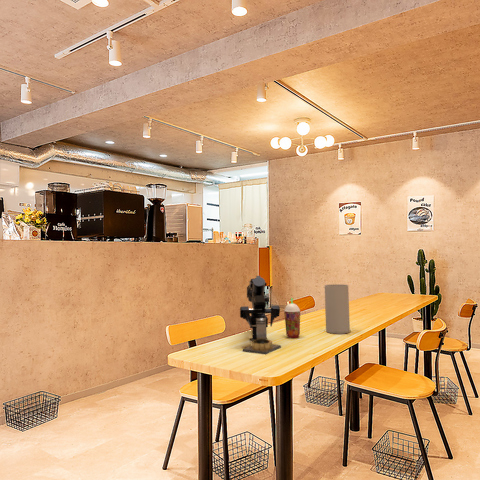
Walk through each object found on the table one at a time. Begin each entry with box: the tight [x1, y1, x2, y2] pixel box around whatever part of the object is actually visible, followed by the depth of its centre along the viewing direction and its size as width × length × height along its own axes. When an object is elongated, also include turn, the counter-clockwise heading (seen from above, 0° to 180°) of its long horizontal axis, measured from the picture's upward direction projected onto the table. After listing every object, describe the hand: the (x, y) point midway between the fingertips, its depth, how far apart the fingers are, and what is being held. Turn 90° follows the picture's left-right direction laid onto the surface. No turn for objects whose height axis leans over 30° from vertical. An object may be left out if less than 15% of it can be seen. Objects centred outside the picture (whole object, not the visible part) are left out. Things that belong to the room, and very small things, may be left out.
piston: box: [256, 318, 268, 343], centre depth 186 cm, size 5×5×13 cm
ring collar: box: [242, 339, 282, 355], centre depth 186 cm, size 14×12×4 cm
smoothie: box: [283, 297, 301, 339], centre depth 210 cm, size 8×8×20 cm
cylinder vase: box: [324, 284, 351, 335], centre depth 220 cm, size 12×12×25 cm
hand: (261, 326), depth 187 cm, fingers open, 9 cm apart
